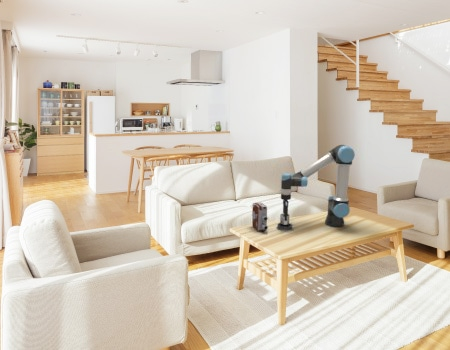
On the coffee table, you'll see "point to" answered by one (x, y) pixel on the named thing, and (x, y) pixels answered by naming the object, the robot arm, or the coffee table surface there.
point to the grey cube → (283, 219)
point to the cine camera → (259, 217)
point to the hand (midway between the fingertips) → (285, 222)
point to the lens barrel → (284, 227)
